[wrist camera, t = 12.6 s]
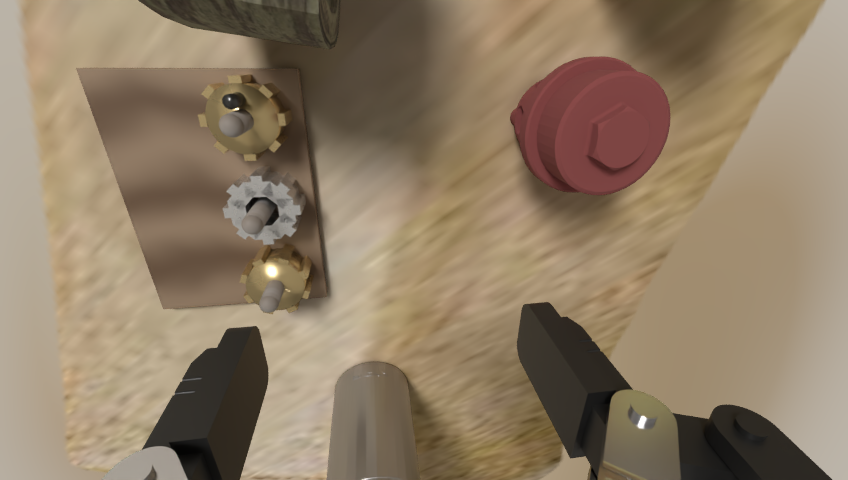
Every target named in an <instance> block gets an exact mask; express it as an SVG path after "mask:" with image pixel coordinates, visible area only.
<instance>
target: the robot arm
mask: <svg viewBox="0 0 848 480" xmlns="http://www.w3.org/2000/svg"><path fill="white" fill-rule="evenodd" d="M517 350H518V355H519V359H520V362H521V364H522V366H523V368H524V369H525V371H526V373H527V375H528V377H529V379H530V381H531V383H532V385H533V387H534V389H535V391H536V393H537V395H538V397H539V399H540V400H541V402H542V404H543V406H544V408H545V410H546V412H547V414H548V416H549V418H550V420H551V422H552V424H553V426H554V428H555V429H556V431H557V433H558V435H559V437H560V439H561V441H562V443H563V445H564V447H565V449H566V450H567V453H568V455H569V457H570V458H576V457H583V456H586V458H587V459H588V461H589V463H590V465H591V466H590V469H589V473H588V480H832V479H831V478H830V477H829V476H828V475H827V474H826V473H825V472H824V471H823V470H822V469H820V468H819V467H818V466H817V465H816V464H815V463H814V462H813V461H812V460H811V459H810V458H809V457H808V456H806V454H805V453H804V452H803V451H802V450H800V449H799V448H798V447H797V446H796V445H795V444H794V443H793V442H792V441H791V440H790V439H789V438H788V437H787V436H786V435H785V434H784V433H783V432H781V431H780V430H779V429H778V428H777V427H776V426H775V425H773V423H771V422H770V421H769V420H767V419H766V418H764V417H762V416H761V415H759V414H757V413H755V412H753V411H751V410H748V409H745V408H743V407H739V406H735V405H720V406H717V407H716V408H715V409H714V410H713V411H712V414H711V416H710V418H709V419H705V418H698V417H693V416H686V415H680V414H674V413H672V412H671V411H670V410H669V408H668V407H667V406H666V405H664V404H663V403H662V402H660V401H659V400H658V399H656V398H655V397H653V396H651V395H649V394H646V393H644V392H641V391H636V390H633V389H632V388H631V387H630V385H629V384H628V383H627V382H626V380H625V379H624V378H623V377H622V376H621V374H620V373H619V372H618V371H617V370H616V368H615V367H614V366H613V364H612V363H611V362H610V361H609V360H608V358H607V357H606V356H605V355H604V353H603V352H600V349H599V347H598V346H597V345H596V344H595V342H594V341H592V339H591V337H590V336H589V335H588V334H587V333H586V331H585V330H584V329H583V328H582V327H581V326H580V325H578V324H577V323H575V322H574V321H572V320H571V319H570V318H568V317H560V315H559V314H558V313H557V311H556V310H555V309H554V307H553V306H552V305H551V304H550V303H548V302H544V303H532V304H524V305H523V308H522V312H521V319H520V326H519V333H518V340H517ZM267 385H268V365H267V361H266V357H265V353H264V348H263V344H262V340H261V336H260V332H259V329H258V327H256V326H253V327H241V328H229V329H227V330H226V332H225V333H224V335H223V337H222V339H221V341H220V343H219V345H218V347H217V348H209V349H206V350H205V351H204V352H203V353H202V354H201V355H200V356H199V357H198V358H196V359H195V360H194V361H193V362H192V363H191V365H190V367H189V368H188V370H187V372H186V374H185V375H184V377H183V381H182V382H180V384H179V386H178V388H177V389H176V391H175V395H174V396H172V398H171V400H170V402H169V403H168V405H167V407H166V409H165V410H164V412H163V414H162V416H161V417H160V419H159V421H158V423H157V424H156V426H155V428H154V430H153V431H152V433H151V435H150V437H149V438H148V440H147V442H146V444H145V445H144V447H143V449H142V450H140V451H138V452H136V453H134V454H132V455H130V456H128V457H126V458H125V459H123V460H122V461H120V462H119V463H118V464H116V465H115V466H114V467H113V468H112V469H111V470H110V471H109V472H108V473H107V474H106V475H105V476H104V478H103V479H102V480H240V477H241V473H242V470H243V467H244V463H245V460H246V457H247V453H248V450H249V447H250V443H251V440H252V436H253V433H254V430H255V426H256V423H257V420H258V416H259V413H260V410H261V406H262V403H263V400H264V396H265V393H266V389H267ZM327 480H420V473H419V465H418V457H417V450H416V442H415V435H414V427H413V419H412V412H411V403H410V396H409V388H408V382H407V379H406V377H405V375H404V374H403V373H402V372H401V371H400V370H399V369H398V368H396V367H394V366H393V365H390V364H387V363H381V362H368V363H362V364H359V365H357V366H354V367H352V368H350V369H349V370H347V371H346V372H345V373H343V374H342V375H341V377H340V378H339V379H338V381H337V383H336V386H335V394H334V405H333V414H332V425H331V436H330V447H329V458H328V470H327Z"/></svg>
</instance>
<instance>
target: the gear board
mask: <svg viewBox="0 0 848 480" xmlns="http://www.w3.org/2000/svg"><path fill="white" fill-rule="evenodd" d="M76 69H77V72H78V75H79V78H80V80H81V83H82V86H83V89H84V91H85V94H86V97H87V100H88V102H89V105H90V108H91V111H92V114H93V116H94V119H95V122H96V125H97V127H98V130H99V133H100V136H101V138H102V141H103V144H104V147H105V149H106V152H107V155H108V158H109V160H110V163H111V166H112V169H113V171H114V174H115V177H116V180H117V183H118V185H119V188H120V191H121V194H122V196H123V199H124V202H125V205H126V207H127V210H128V213H129V216H130V218H131V221H132V224H133V227H134V229H135V232H136V235H137V238H138V240H139V243H140V246H141V249H142V252H143V254H144V257H145V260H146V263H147V265H148V268H149V271H150V274H151V276H152V279H153V282H154V285H155V287H156V290H157V293H158V296H159V298H160V301H161V304H162V307H163V309H172V308H186V307H199V306H213V305H226V304H239V303H248V302H247V301H246V300H245V298H244V297H243V296H244V294H245V292H246V284H244V283H240V279H241V275H242V273H243V271H244V270H245V268H246V266H247V264H248V263H249V261H250V259H255V257H256V255H257V253H258V251H259V250H260V248H262V247H264V246H266V245H264V244H263V240H254V239H253V238H251V237H250V236H248V237H247V238H246V239H244V238H242V237H241V236H239V235H238V234H236V233H237V231H238V230H239V229H238V228H237V227H235V226H234V225H233V223H232V219H231V218H225V216H224V212H223V207H224V206H225V205H226V204H227V203H228V202H227V201H228V200H229V198H230V197H231V196H232V195H230V194H229V193H227V192H226V191H227V190H228V189H229V188H230V187H231V185H232V184H233V183H234V182H235V181H236V180H237V179H239V178H240V177H241V176H242V175H243V174H244V175H246V176H247V177H249V176H250V175H251V174H252V173H253V172H254V171H255V170H256V169H257V168H258V167H268V166H270V171H271V172H279V173H280V174H282V175H283V176H285V175H286V174H287V172H288V173H289V174H290V175H291V176H293V177H294V178H295V179H296V180H295V181H294V183H293V184H294V185H296V186H297V187H298V190H299V194H305V200H306V204H305V207H304V209H303V211H302V214H301V215H299V216H300V217H301V220H300V222H299V225H298V227H297V230H296V231H295V232H294V233H293V234H292V236H291V237H289V236H288V235H286V234H285V235H284V236H283V237H282V238H281V239H277V240H276V242H275V244H268V245H269V246H270V247H271V249H274V248H283V247H284V245H285V244H289V245H292V246H294V250H293V251H294V252H296V253H298V254H299V255H300V256H302V257H305V256H307V255H308V257H309V258H310V260H311V262H312V264H311V268H310V272H309V274H310V275H314V277H313V281H312V286H311V290H310V293H309V296H308V298H320V297H326V296H327V286H326V278H325V270H324V263H323V255H322V247H321V239H320V231H319V223H318V215H317V207H316V199H315V192H314V184H313V176H312V168H311V160H310V152H309V144H308V136H307V128H306V121H305V113H304V105H303V97H302V89H301V81H300V73H299V69H229V68H76ZM238 74H252V79H253V81H252V82H256V83H259V84H262V85H263V84H267V83H271V82H272V83H273V84H274V85H275V86H276V87H277V88H278V89H280V90H281V91H280V93H279V94H278V95H277V97H278V98H279V99H280V101H281V103H282V105H283V107H284V109H291V112H292V119H293V120H292V121H291V122H290V123H289V124H287V125H286V126H285V129H284V131H283V133H282V134H284V135H286V136H287V137H288V138H287V139H286V140H285V142H284V143H283V144H282V145H281V146H280V147H279V148H278V149H277V150H276V151H275V152H272V151H271V150H270V149H269V148H267V149H266V150H265V153H264V154H263V155H262V156H261V157H260V158H259V159H258V160H257V161H245V160H244V154H240V153H236V152H234V151H231V150H229V151H228V152H226V153H225V154H223V153H222V152H221V151H219V150H218V149H217V148H216V147H214V145H215V143H216V142H217V140H216V139H215V137H214V136H213V135H212V133H211V131H210V130H209V127H201V126H200V122H199V118H198V114H201V113H204V112H205V109H206V104H207V101H208V99H207V98H205V97H204V96H203V95H202V92H203V91H204V90H205V88H206V87H207V86H208V85H209V84H215V83H222V82H223V83H224V84H225V85H226V84H231V83H229V81H228V76H229V75H238ZM253 125H254V119H253V117H252V115H251V114H250V113H249V112H248V111H246V110H243V109H238V110H235V111H233V112H230V113H228V114H225V115H223V116H222V117H221V118H220V120H219V128H220V130H221V132H222V133H223V134H225V135H226V136H228V137H238V136H240V135H242V134H244V133H245V132H247V131H248V130H250V129H251V128H252V127H253ZM255 199H256V203H255V204H254V205H253V206H252V208H251V209H250V210H249V212H248V213H247V214H246V216H245V217H244V218H243V220H242V222H241V226H242V229H243V230H244V231H245V232H246V233H248V234H252V235H254V234H258V233H259V232H261V231H262V229H263V228H264V226H265V224H266V223H267V221H268V219H269V218H270V216H271V214H272V213H279V211H278V205H277V204H275V203H274V202H273V201H271V200H270V199H269V198H267V197H255ZM284 289H285V287H284V284H283V283H282V282H281V281H279V280H271V281H269V282H268V283H267V285H266V288H265V290H264V292H263V295H262V297H261V299H260V302H259V306H260V308H261V310H262V311H264V312H266V313H271V312H273V311H275V310H276V309H277V308H278V306H279V303H280V300H281V297H282V295H283V292H284ZM301 299H305V298H301ZM251 303H253V302H251Z"/></svg>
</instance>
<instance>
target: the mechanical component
mask: <svg viewBox="0 0 848 480" xmlns="http://www.w3.org/2000/svg"><path fill="white" fill-rule="evenodd" d="M510 120H511V123H512V124H513V125H514V128H515V134H516V136H517V139H518V141H519V143H520V149H521V152H522V156H523V158H524V161H525V163H526V165H527V166H528V168H529V170H530V171H531V172H532V173H533V174H534V175H535V176H536V177H537V178H538V179H540V180H541V181H542V182H544V183H545V184H547V185H549V186H550V187H552V188H555V189H557V190H560V191H564V192H583V193H585V194H591V195H605V194H611V193H614V192H618V191H620V190H622V189H624V188H626V187H628V186H630V185H631V184H633V183H635V182H636V181H637V180H638V179H640V178H641V177H642V176H643V175H644V174H645V173H646V172H647V171H648V170H649V169H650V168H651V167H652V165H653V164H654V163H655V161H656V160H657V158H658V157H659V155H660V153H661V151H662V149H663V147H664V145H665V142H666V139H667V136H668V132H669V127H670V107H669V103H668V99H667V97H666V95H665V93H664V90H663V89H662V88H661V86H660V85H659V84H658V83H657V82H656V81H655V80H654V79H652V78H651V77H649V76H647V75H645V74H643V73H640V72H637V71H636V70H635V69H633V68H632V67H631V66H630V65H628V64H627V63H625V62H623V61H621V60H618V59H615V58H610V57H584V58H579V59H575V60H572V61H570V62H568V63H565V64H563V65H562V66H560V67H558V68H557V69H555V70H554V71H553V72H551V73H550V74H549V75H548V76H547V77H546V78H545V79H543V80H541V81H539V82H537V83H536V84H534V85H533V86H532V87H530V89H529V90H528V91H527V92H526V93H525V94H524V95H523V97H522V98H521V100H520V102H519V104H518V106H517V108H516V109H515V110H513V112H512V113H511V116H510Z"/></svg>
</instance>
